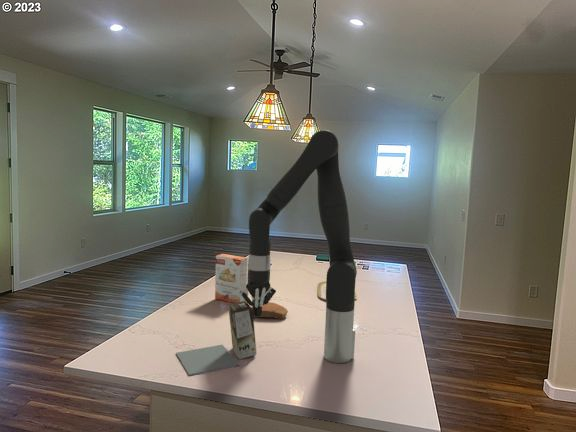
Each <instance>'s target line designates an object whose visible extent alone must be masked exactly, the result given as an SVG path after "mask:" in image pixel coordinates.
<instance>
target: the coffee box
mask: <svg viewBox="0 0 576 432" xmlns="http://www.w3.org/2000/svg"><path fill="white" fill-rule="evenodd" d="M227 306H228V315H229V316H228V317H229V324H230V336H231V344H232V350H233V352H234V354H235V355H236V356H237V358H238V359H239V360H241V359H246V358H249V357H253V356H256V355H257V343H256V332H255V331H256V330H255V323H254V317H253V309H252V308H251V307H252V306H250V305H249V304H248V303H247V302H246V301H241V302H236V303H229V304H228V305H227Z"/></svg>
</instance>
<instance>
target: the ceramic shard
mask: <svg viewBox="0 0 576 432" xmlns="http://www.w3.org/2000/svg"><path fill="white" fill-rule="evenodd" d="M250 307H251V308H252V309H253V306H250ZM288 312H289V311H288V309H287V308H285V306H282V305H280V304H278V303H275V302H271V301H269V302H268V303H267V304H266V305H265V304H264V305H263V306H262V314H261V315H260V317H259V318H276V319H280V320H283V319H285V318H286V316H287V314H288ZM253 318H255V317H254V315H253Z"/></svg>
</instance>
